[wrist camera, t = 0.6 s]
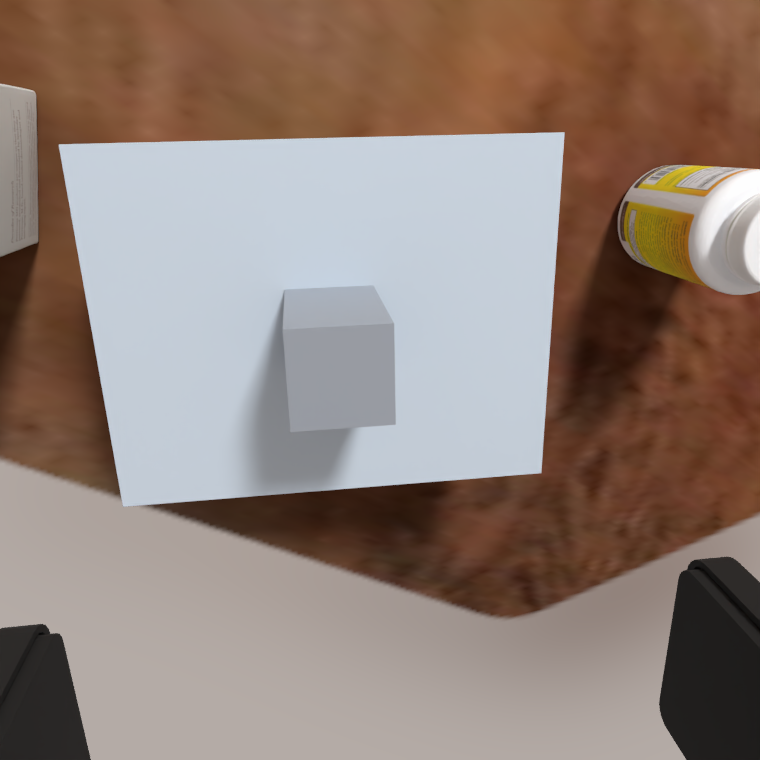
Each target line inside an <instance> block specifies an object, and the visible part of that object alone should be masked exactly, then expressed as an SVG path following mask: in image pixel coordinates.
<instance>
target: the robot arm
mask: <svg viewBox="0 0 760 760" xmlns="http://www.w3.org/2000/svg"><path fill="white" fill-rule="evenodd" d="M659 705H660V712H661V716H662V719H663V722H664V724H665V726H666V728H667V729H668V731H669V733H670V734H671V736H672V737H673V739H674V741H675V742H676V744H677V745H678V747H679V748H680V750H681V752H682V753H683V755H684V756H685V758H686V760H760V582H759V581H758V580H757V579H756V578H754V577H753V576H752V575H751V574H750V573H749V572H748V571H747V570H746V569H745V568H744V567H743V566H742V565H741V564H740V563H738V561H736V560H735V559H733V558H731V557H720V558H709V559H700V560H694V561H692V562H691V563H690V564H689V566H688V569H687V570H685V571H683V572H681V574H680V576H679V580H678V586H677V593H676V599H675V606H674V612H673V619H672V625H671V631H670V637H669V643H668V650H667V656H666V663H665V669H664V675H663V682H662V688H661V694H660V703H659ZM0 760H91V759H90V755H89V750H88V746H87V742H86V737H85V733H84V729H83V725H82V720H81V716H80V712H79V707H78V703H77V699H76V694H75V690H74V686H73V682H72V677H71V673H70V669H69V664H68V660H67V655H66V651H65V647H64V643H63V639H62V637H61V636H60V634H57V633H55V634H50V632H49V629H48V628H47V626H46V625H43V624H38V625H28V626H18V627H8V628H1V629H0Z"/></svg>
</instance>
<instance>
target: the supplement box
mask: <svg viewBox="0 0 760 760" xmlns="http://www.w3.org/2000/svg"><path fill="white" fill-rule="evenodd" d="M36 243H38V161H37V108H36V93H35V92H34V91H33V90H29V89H24V88H19V87H15V86H10V85H4V84H0V257H2V256H4V255H7V254H9V253H12V252H14V251H17V250H20V249H23V248H25V247H27V246H30V245H32V244H36Z"/></svg>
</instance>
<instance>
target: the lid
mask: <svg viewBox="0 0 760 760" xmlns="http://www.w3.org/2000/svg"><path fill="white" fill-rule="evenodd" d="M564 133H565V132H561V133H518V134H476V135H434V136H392V137H351V138H309V139H267V140H225V141H183V142H141V143H99V144H59V149H60V155H61V160H62V166H63V171H64V177H65V183H66V188H67V194H68V200H69V205H70V211H71V217H72V222H73V228H74V233H75V239H76V245H77V250H78V256H79V262H80V267H81V273H82V279H83V284H84V290H85V295H86V301H87V307H88V312H89V318H90V324H91V329H92V335H93V340H94V346H95V352H96V357H97V363H98V369H99V374H100V380H101V386H102V391H103V397H104V402H105V408H106V414H107V419H108V425H109V431H110V436H111V442H112V448H113V453H114V459H115V464H116V470H117V476H118V481H119V487H120V493H121V498H122V504H123V507H127V506H140V505H152V504H164V503H177V502H189V501H201V500H214V499H226V498H239V497H251V496H263V495H276V494H288V493H300V492H313V491H325V490H338V489H350V488H362V487H375V486H387V485H399V484H412V483H424V482H437V481H449V480H461V479H474V478H486V477H498V476H511V475H523V474H536V473H541V469H542V454H543V439H544V425H545V410H546V396H547V381H548V366H549V352H550V337H551V323H552V308H553V293H554V279H555V264H556V250H557V235H558V220H559V206H560V191H561V177H562V162H563V147H564Z"/></svg>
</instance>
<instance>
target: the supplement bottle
mask: <svg viewBox="0 0 760 760" xmlns="http://www.w3.org/2000/svg"><path fill="white" fill-rule="evenodd" d="M618 234H619V238H620V241H621V244H622V246H623V247H624V249H625V251H626V252H627V253H628V254H629V255H630V256H631V257H632V258H633V259H634V260H636V261H637V262H639V263H640V264H642V265H645V266H647V267H650V268H653V269H656V270H659V271H662V272H664V273H667V274H670V275H673V276H676V277H679V278H682V279H685V280H687V281H690V282H693V283H696V284H699V285H702V286H705V287H708V288H710V289H713V290H716V291H719V292H723V293H727V294H733V295H744V294H751V293H755V292H758V291H760V169H746V168H727V167H710V166H691V165H667V166H662V167H659V168H656V169H653V170H651V171H649V172H648V173H646V174H645V175H643V176H642V177H641V178H639V179H638V180H637V181H636V182H635V183H634V184H633V185H632V186H631V188H630V189H629V190H628V192H627V193H626V195H625V197H624V199H623V201H622V203H621V206H620V210H619V214H618Z"/></svg>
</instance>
